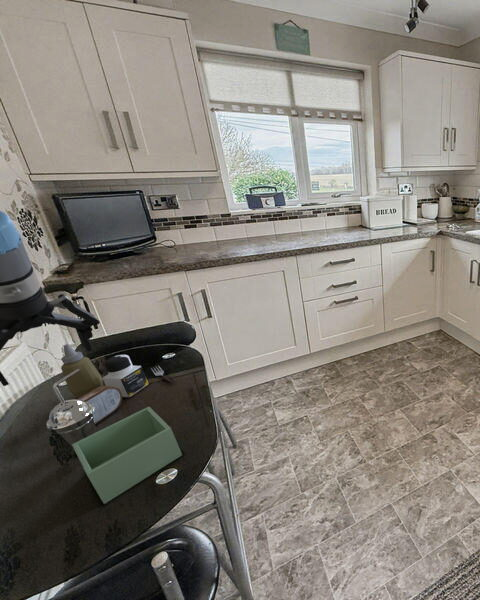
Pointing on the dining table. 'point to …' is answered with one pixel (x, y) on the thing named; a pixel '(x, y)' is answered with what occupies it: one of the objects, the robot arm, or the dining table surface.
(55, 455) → the dining table surface
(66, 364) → the squeeze bottle
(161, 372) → the fork
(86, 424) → the cup with straw
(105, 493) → the bin
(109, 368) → the medicine bottle
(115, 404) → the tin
